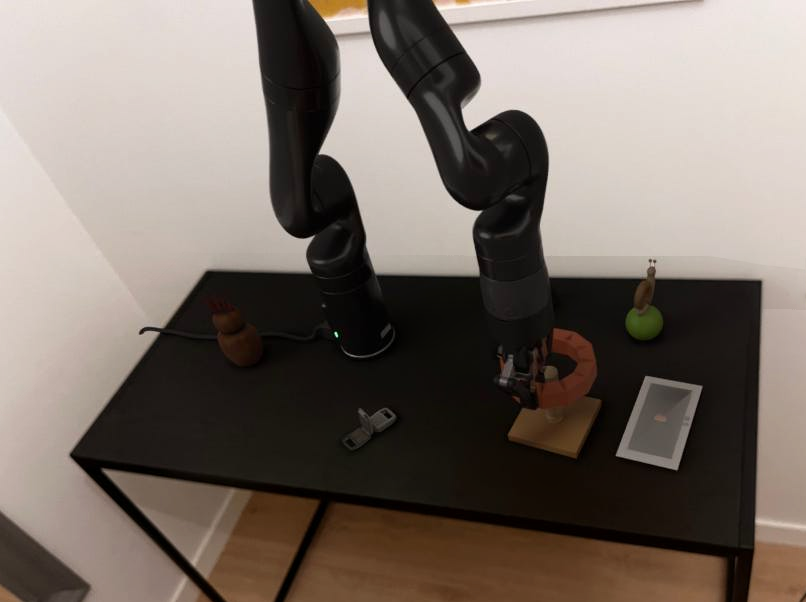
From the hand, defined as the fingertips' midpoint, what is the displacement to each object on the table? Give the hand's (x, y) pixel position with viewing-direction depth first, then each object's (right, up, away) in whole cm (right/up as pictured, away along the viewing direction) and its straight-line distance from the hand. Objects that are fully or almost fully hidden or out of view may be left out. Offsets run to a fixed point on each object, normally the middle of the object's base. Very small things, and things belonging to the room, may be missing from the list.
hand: (534, 399), depth 90 cm
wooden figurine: (-45, +5, +33) cm, 56 cm away
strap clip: (-22, -6, +16) cm, 28 cm away
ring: (+2, +3, +3) cm, 5 cm away
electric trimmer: (+2, +10, +25) cm, 27 cm away
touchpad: (+18, -4, +6) cm, 19 cm away
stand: (+4, -4, +10) cm, 11 cm away
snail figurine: (+19, +9, +19) cm, 29 cm away
